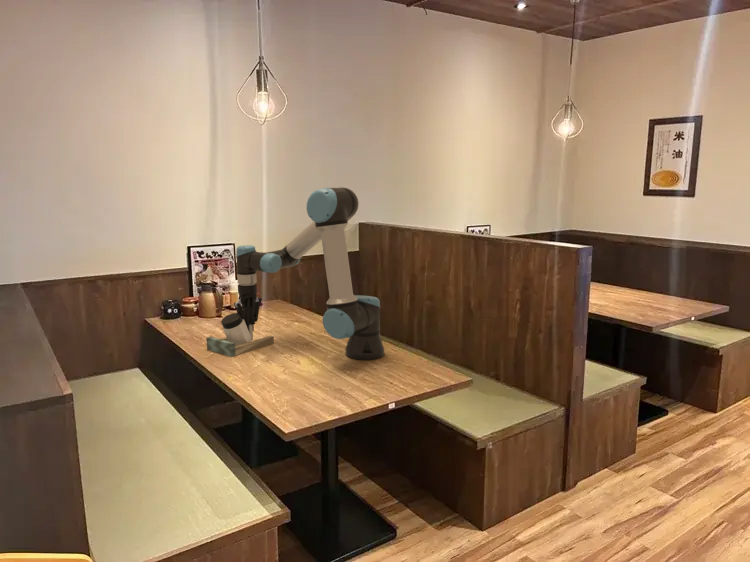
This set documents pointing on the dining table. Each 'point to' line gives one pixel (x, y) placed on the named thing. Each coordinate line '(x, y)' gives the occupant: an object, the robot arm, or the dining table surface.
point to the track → (231, 350)
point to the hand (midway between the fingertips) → (249, 339)
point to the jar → (236, 329)
